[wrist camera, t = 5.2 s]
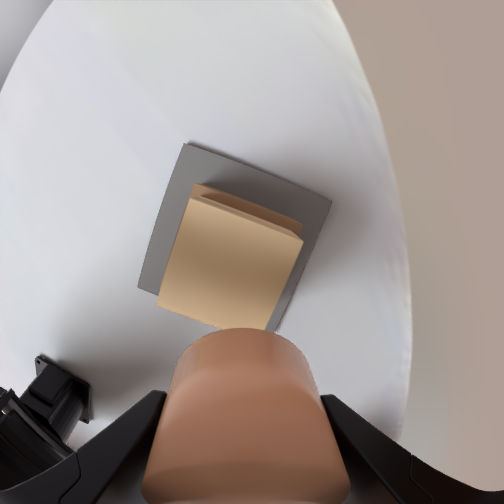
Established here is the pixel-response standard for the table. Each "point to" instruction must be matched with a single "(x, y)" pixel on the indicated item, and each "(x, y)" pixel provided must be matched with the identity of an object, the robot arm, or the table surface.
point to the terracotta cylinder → (244, 428)
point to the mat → (243, 186)
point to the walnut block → (241, 209)
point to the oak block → (227, 266)
